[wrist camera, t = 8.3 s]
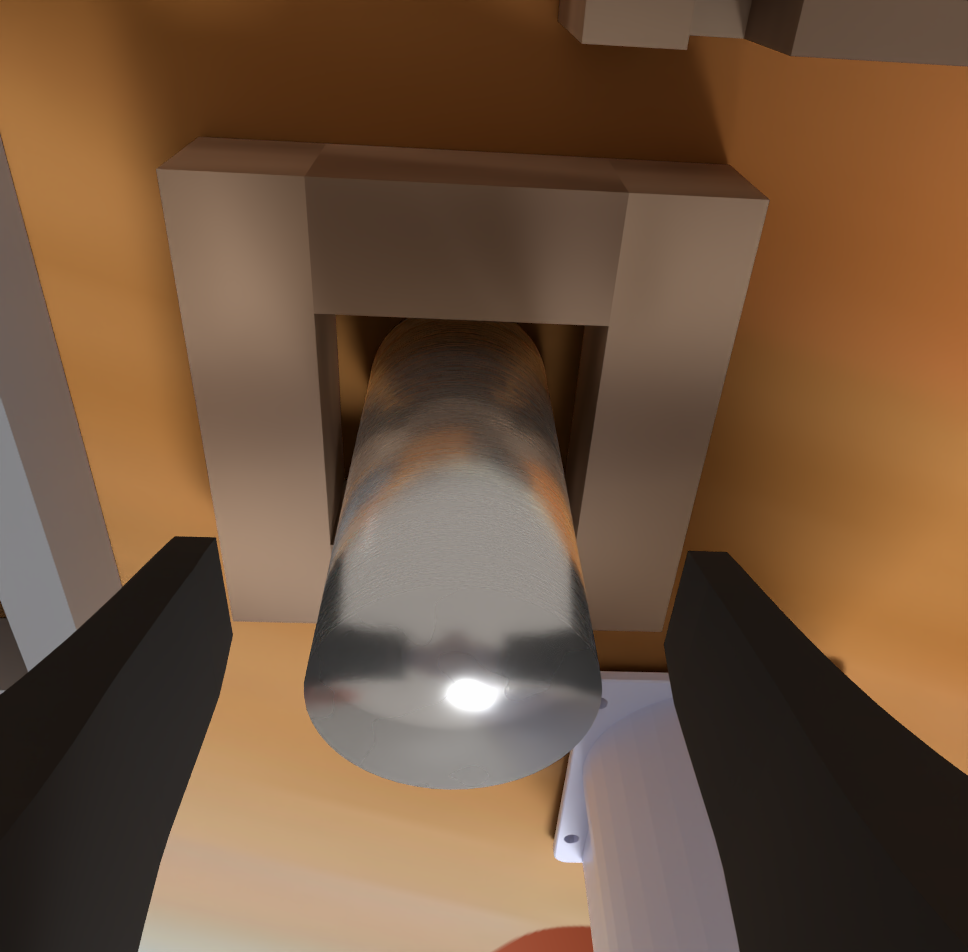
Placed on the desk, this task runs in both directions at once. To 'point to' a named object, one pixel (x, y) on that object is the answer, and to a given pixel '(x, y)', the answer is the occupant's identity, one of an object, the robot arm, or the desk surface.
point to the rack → (40, 472)
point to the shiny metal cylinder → (454, 571)
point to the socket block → (459, 296)
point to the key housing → (783, 26)
